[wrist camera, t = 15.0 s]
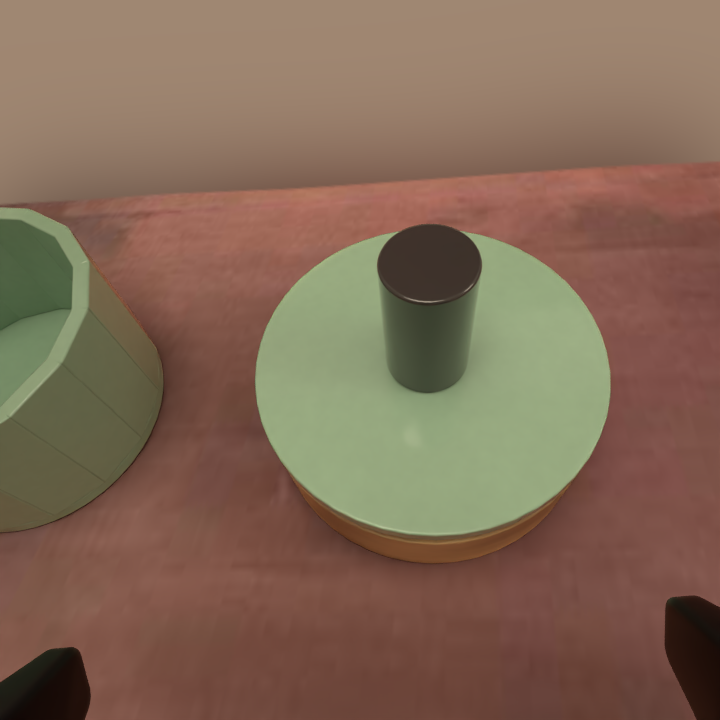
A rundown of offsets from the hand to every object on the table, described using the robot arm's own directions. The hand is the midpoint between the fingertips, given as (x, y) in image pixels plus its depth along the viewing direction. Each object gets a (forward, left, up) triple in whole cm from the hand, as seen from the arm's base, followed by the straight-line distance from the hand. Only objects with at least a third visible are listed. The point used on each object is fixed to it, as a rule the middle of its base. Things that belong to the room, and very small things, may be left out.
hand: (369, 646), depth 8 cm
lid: (+3, -9, -8) cm, 12 cm away
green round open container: (+18, -1, -11) cm, 21 cm away
